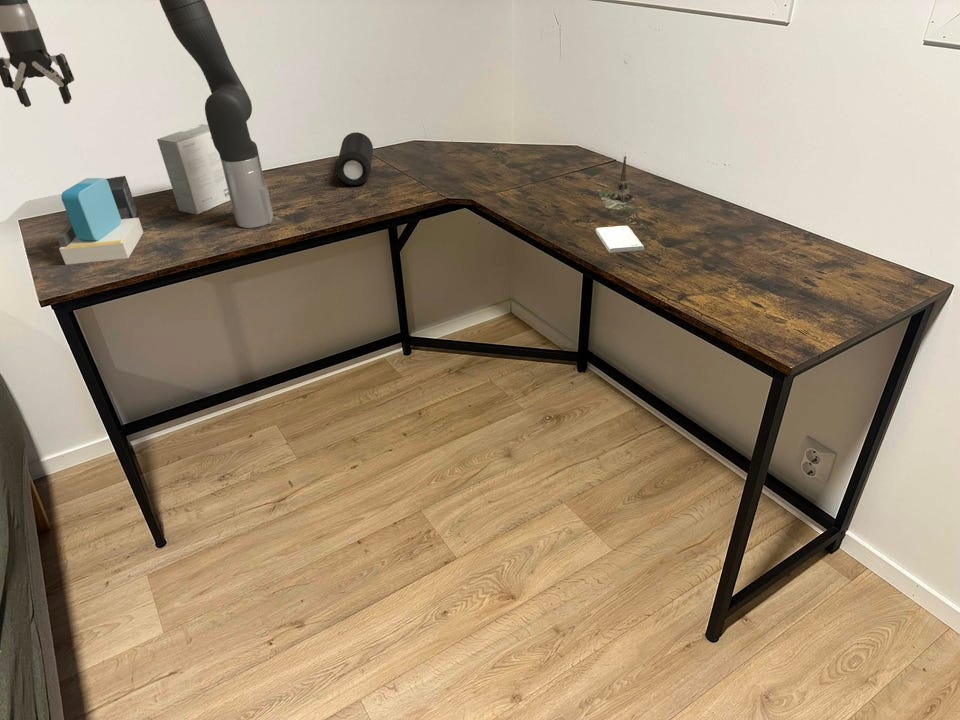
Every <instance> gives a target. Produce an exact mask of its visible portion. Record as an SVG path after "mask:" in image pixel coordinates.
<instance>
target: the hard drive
mask: <svg viewBox="0 0 960 720" xmlns="http://www.w3.org/2000/svg"><path fill="white" fill-rule="evenodd" d="M595 233H596V236H598V238H599V240H600V241H601V242H602V244H603V245H604V247H605V248H606V250H607V252H608V253H609V254H610V253H611V254H612V253H625V252H636V251H637V252H638V251H644V250H645V246H644V244H642V242H641V241H640V240H639V238H638V237H637V235H636V234H635V233H634V232H633V230H632V229H631V228H630V227H629V225H617V226H605V227H596V228H595Z"/></svg>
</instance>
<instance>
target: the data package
mask: <svg viewBox="0 0 960 720" xmlns="http://www.w3.org/2000/svg"><path fill="white" fill-rule="evenodd" d="M106 179H107V178H105V177H97V178H96V177H90V178H89V177H86V178H84V179H83V180H81V181H79V182H77V183H76V184H74V185H72V186H71V187H68V188H67V189H65V190H64V191H62V193H61V195H60V196H61V201H62V204H63V206H64V208H65V209H64V210H65V212H66V215H67V217H68V219H69V222H71V224H72V227H73V229H74V232H75V235H76V237H77V238H78V239H79V240H91V241H98V240H100V239H101V238H103V237H104V236H105V235H107V234H108V233H109V232H111V231H112V230H113V229H115V228H116V227H118V226H119V225H120V223H121V217H120V215H119V212H118V209H117V206H116V203H115V200H114V197H113V195H112V192H111V189H110V186H109V183H108V181H107V180H106Z"/></svg>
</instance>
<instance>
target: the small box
mask: <svg viewBox="0 0 960 720" xmlns="http://www.w3.org/2000/svg"><path fill="white" fill-rule="evenodd" d="M105 179H106V180H107V181H108V183H109V186H110V189H111V192H112V195H113V197H114V200H115V203H116V206H117V209H118V212H119V215H120V217H121V219H130V218H138V215H139V211H138V208H137V205H136V202H135V200H134V197H133V195H132V190H131V189H130V185H129V183H128V179H127V177H126V175H121V176H113V177H108V178H105Z"/></svg>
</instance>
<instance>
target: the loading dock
mask: <svg viewBox="0 0 960 720" xmlns="http://www.w3.org/2000/svg"><path fill="white" fill-rule="evenodd" d="M141 223H142V222H141V221H140V217H137V218H130V219H121V223H120V225H119V226H118V227H116V228H115V229H113V230H112V231H111V232H109V233H108V234H107V235H105V236H104V237H103V238H101V239H100V240H98V241H91V240H79V239H78V238H77V237H76V235H75V232H74V229H73V227H72V224H71V222H70V221H69V222H68V224H67V225H66V226H65V227H64V228H63V229H62V230H61V231H60V233H59V234H58V235H57V236H56V240H57V242H58V245H59V251H60V254H61V256H62V259H63V261H64V264H65V265H76V264H86V263H96V262H106V261H117V260H126V259H129V257H130V256H131V254H132V253H133V251H134V249H136V248H135V247H136V246H137V244H138V243H139V241H140V239H141V238H142V236H143V234H144V230H143V227H142V224H141Z"/></svg>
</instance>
